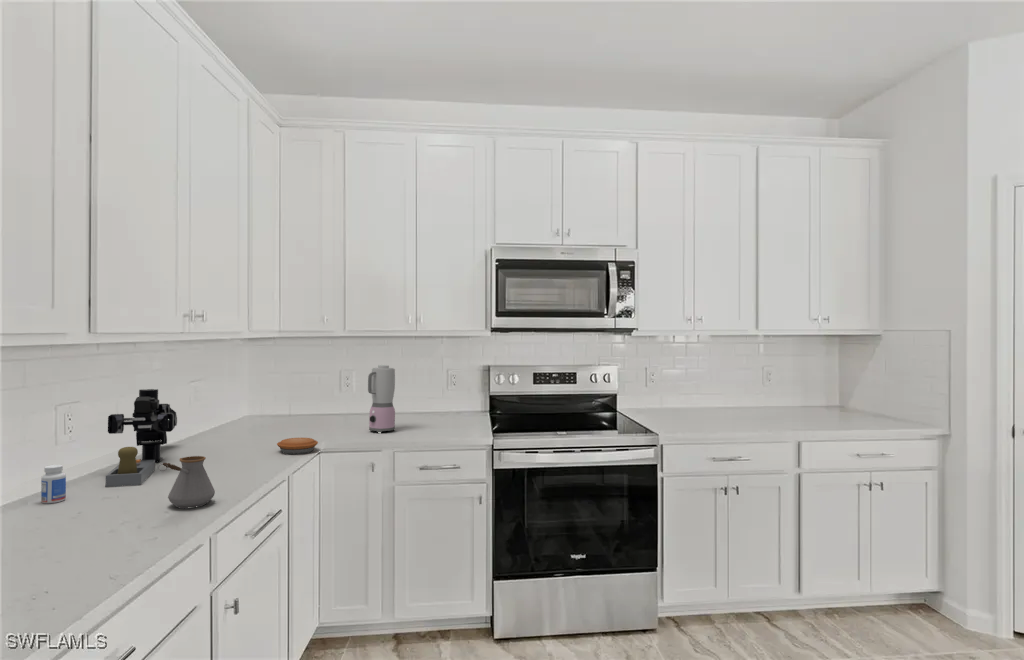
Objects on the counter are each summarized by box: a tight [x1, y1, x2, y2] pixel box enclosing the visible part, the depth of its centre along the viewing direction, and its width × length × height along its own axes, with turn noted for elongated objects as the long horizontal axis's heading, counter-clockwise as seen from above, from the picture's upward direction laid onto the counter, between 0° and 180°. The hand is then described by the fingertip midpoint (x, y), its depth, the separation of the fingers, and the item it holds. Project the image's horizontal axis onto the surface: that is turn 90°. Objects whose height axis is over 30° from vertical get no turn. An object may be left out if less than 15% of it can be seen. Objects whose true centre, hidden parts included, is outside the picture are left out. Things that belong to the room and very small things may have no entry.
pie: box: [276, 437, 319, 455], centre depth 236 cm, size 15×16×5 cm
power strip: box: [104, 458, 156, 488], centre depth 190 cm, size 20×9×4 cm, turn 21°
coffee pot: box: [157, 455, 216, 509], centre depth 159 cm, size 21×12×15 cm, turn 3°
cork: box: [117, 446, 139, 474], centre depth 185 cm, size 6×6×11 cm
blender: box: [367, 364, 396, 433], centre depth 284 cm, size 16×12×32 cm
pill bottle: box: [40, 464, 67, 504], centre depth 164 cm, size 6×5×10 cm
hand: (135, 427), depth 189 cm, fingers open, 9 cm apart
